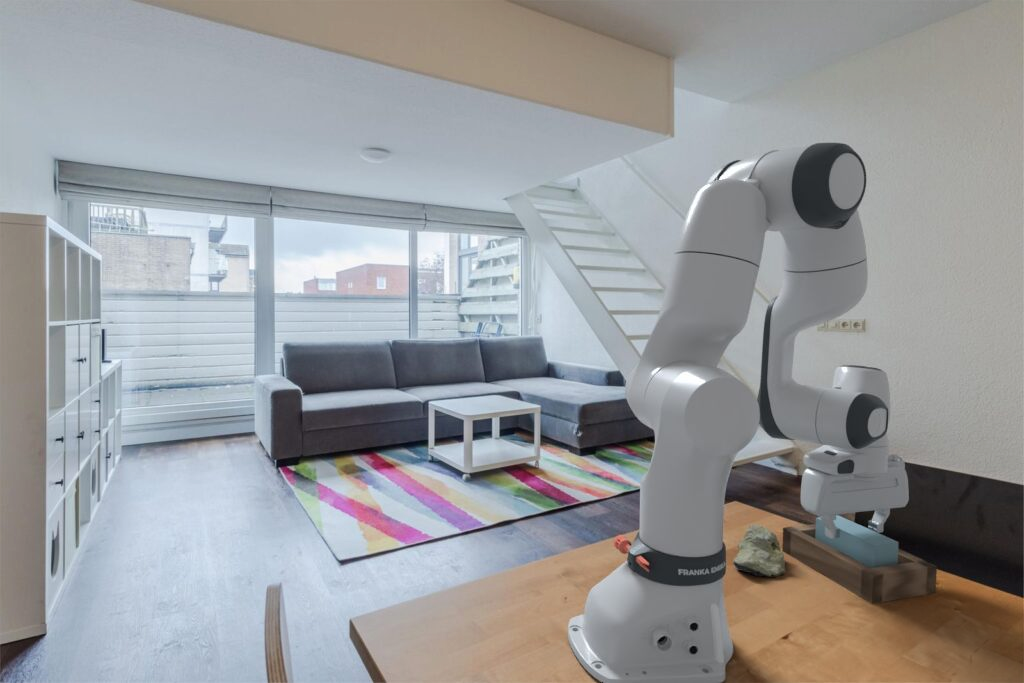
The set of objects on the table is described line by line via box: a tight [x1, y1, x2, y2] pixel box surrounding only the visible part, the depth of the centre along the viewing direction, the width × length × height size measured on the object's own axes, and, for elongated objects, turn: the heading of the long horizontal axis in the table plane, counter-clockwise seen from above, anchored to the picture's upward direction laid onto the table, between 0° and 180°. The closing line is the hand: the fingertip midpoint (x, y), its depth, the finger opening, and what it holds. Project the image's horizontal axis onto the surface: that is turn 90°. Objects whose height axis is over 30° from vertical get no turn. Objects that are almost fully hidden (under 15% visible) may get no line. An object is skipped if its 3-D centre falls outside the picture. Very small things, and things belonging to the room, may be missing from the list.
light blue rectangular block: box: [815, 514, 899, 568], centre depth 94 cm, size 12×5×4 cm, turn 14°
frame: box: [781, 523, 938, 604], centre depth 94 cm, size 13×19×4 cm
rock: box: [732, 524, 786, 578], centre depth 96 cm, size 11×6×10 cm
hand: (854, 534), depth 94 cm, fingers open, 8 cm apart
